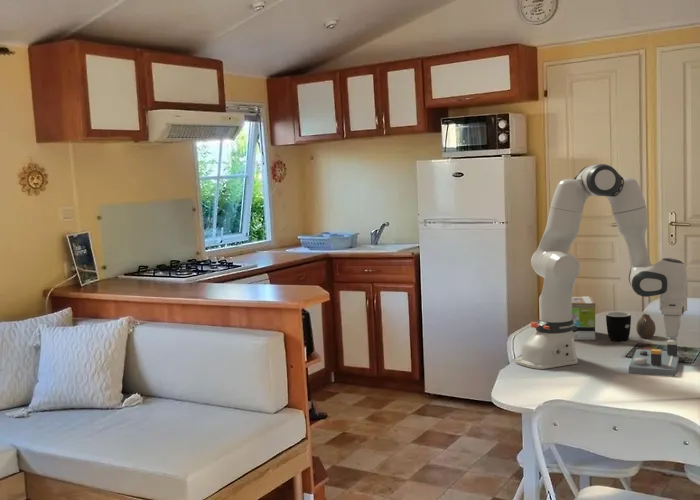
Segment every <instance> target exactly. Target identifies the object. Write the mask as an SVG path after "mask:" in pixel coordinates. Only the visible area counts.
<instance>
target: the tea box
mask: <svg viewBox="0 0 700 500" xmlns="http://www.w3.org/2000/svg"><path fill="white" fill-rule="evenodd" d="M572 319H573V324H574V325H573V330H572V332H573V338H574V341H575V340H576V341H579V340H580V341H581V340H582V341H591V340H593V341H594V340H596V302H595V301H594V299H593V298H592V296H572Z"/></svg>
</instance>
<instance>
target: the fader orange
mask: <svg viewBox="0 0 700 500" xmlns="http://www.w3.org/2000/svg"><path fill="white" fill-rule="evenodd" d="M650 350H651V364H654V365H661V363H662V351H663V349H658V348H651V349H650Z"/></svg>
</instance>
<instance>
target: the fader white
mask: <svg viewBox="0 0 700 500" xmlns="http://www.w3.org/2000/svg"><path fill="white" fill-rule="evenodd" d="M666 343H667V344H666V346H667V348H666V351H667V354H669V355H677V352H678V339H677V340H670V339H667V341H666Z"/></svg>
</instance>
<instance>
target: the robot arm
mask: <svg viewBox="0 0 700 500" xmlns="http://www.w3.org/2000/svg"><path fill="white" fill-rule="evenodd" d="M591 196H592V197H606V198H607V200H608V201H609V204H610V205H611V206H610V207H611V212H612V214H613V215H612V216H613V220H614V222H615V225H616V228H617V229H618V231H619V233H620V235H621V236H622V237H623V239H624V241H625V244H626V247H627V251H628V257H629V261H630V268H629V273H628V282H629V285H630V286H631V288H632V290H633V292H634V293H635V294H636V295H638V296H641V297H644V298H649V297H655V296H659V298H658V299H659V311H660V312H661V315H663V323H664V324H663V325H664V331H665V336H666V338H669V340H677V341H678V339H677V338H678V337H679V332H680V328H681V323H682V322H681V317H682V316H684V313H686V312H687V311H688V294H687V286H688V273H687V271H688V270H687V267H686V264H685V263H684V262H683V261H682V260H679V259H676V258H670V257H666V258H665V257H664V258H661V259H660V260H659V261H658V262H656V263H653V264H652V263H651V261H650V257H649V254H648V248H647V244H646V232H647V229H648V227H649V226H648V225H649V219H648V208H647V204H646V201H645V198H644V194H643V192H642V189H641V186H640V185H639V183H638V181H637V180H636V179H634V178H632V177H623V176H622V175H621V174H619V172H618V171H617V170H616V169H615V168H613V166H610V165H609V164H605V163H603V164H601V163H594V164H591V165H587V166H585V167H584V168H582V169H581V170H580V171H579V173H578V174H577V175H576V176H575V177H574V178H565V179H561V180H560V181H559V182H558V183H557V186H556V188H555V190H554V193H553V196H552V199H551V203H550V206H549V211H548V215H547V216H548V217H547V219H546V220H547V221H546V224H545V229H544V231H543V234H542V237H541V239H540V241H539V244H538V247H537V249H536V250H535V251H534V252H533V254H532V256H531V258H530V265H531V267H532V269H533V271H534V272H535V273H536V274H537V275H538V276H539V277H542V278H543V287H542V289H541V294H540V295H539V297H538V303H539V304H538V307H539V308H538V309H539V313H538V314H539V319H538V320H537V322H534V321H531V322H530V326H531V328H534V329H535V331H534V332H533V333H532V335H531V336H530V337H529V338H528V339H527V340H525V342H524V343H523V345H522V347H521V356H518V357H516V358H515V359H514V363H516V364H517V365H520V366H522V367H527V368H531V369H537V370H545V369H551V368H559V367H564V366H570V365H576V364H579V359H578V356H577V351H576V344H575V340H574V338H573V332H572V330H573V325H574V324H573V319H572V297H573V293H574V287H575V283H576V280H577V278H578V276H579V275H580V272H581V265H580V263H579V261H578V259H577V258H575V256H574V255H572V253H569V250H570V248H571V246H572V244H573V243H574V241H575V239H577V238H578V236H579V232H580V226H581V221H582V218H583V213H584V212H583V211H584V207H585V204H586V201H587V199H588V198H589V197H591Z"/></svg>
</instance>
